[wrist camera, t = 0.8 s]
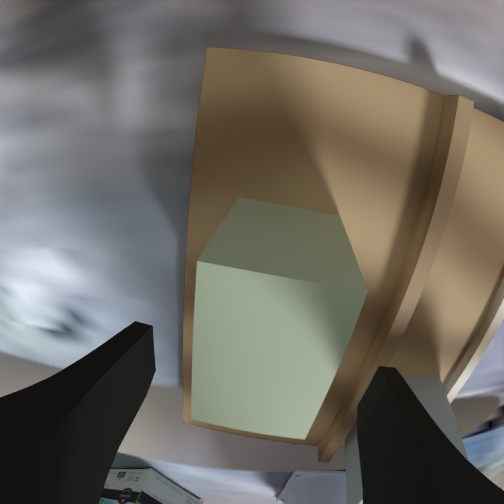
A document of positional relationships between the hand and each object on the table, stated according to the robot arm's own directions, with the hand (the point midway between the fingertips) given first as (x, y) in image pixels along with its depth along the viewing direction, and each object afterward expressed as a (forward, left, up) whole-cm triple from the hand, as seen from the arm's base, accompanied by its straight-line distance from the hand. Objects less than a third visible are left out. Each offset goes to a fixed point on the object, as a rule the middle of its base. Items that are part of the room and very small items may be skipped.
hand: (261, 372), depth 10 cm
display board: (-2, -5, -8) cm, 9 cm away
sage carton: (0, 0, -7) cm, 7 cm away
